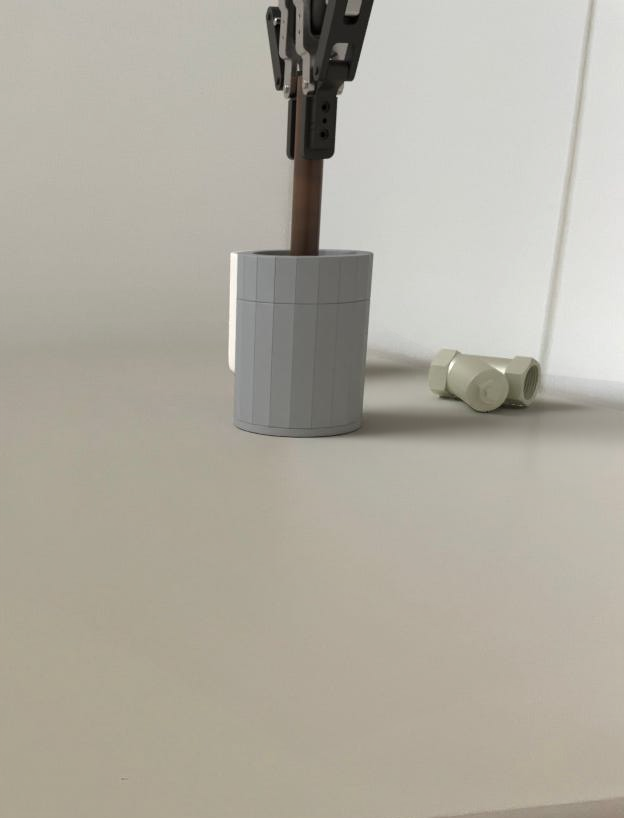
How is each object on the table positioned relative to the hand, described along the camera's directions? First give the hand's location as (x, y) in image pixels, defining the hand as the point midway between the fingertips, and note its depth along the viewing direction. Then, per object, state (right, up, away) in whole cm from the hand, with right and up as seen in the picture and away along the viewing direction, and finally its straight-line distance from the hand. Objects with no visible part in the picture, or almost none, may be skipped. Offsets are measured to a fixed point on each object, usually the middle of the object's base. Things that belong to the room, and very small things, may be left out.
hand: (309, 158), depth 73 cm
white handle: (+1, -8, +27) cm, 28 cm away
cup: (0, -17, +7) cm, 18 cm away
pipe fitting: (+15, -14, +13) cm, 25 cm away
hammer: (0, -10, +4) cm, 11 cm away
